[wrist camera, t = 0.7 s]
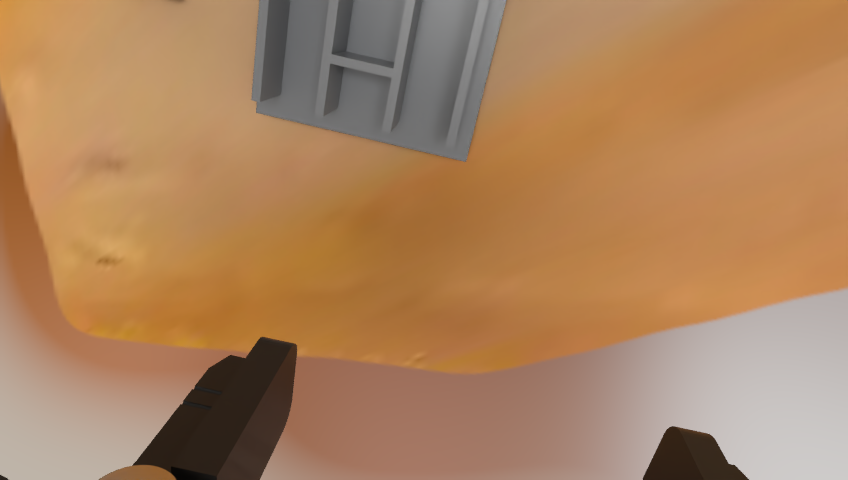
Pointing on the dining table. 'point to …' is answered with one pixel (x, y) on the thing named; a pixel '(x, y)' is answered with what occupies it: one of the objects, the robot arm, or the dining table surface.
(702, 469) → the robot arm
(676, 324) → the dining table surface
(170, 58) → the dining table surface
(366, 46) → the rack
